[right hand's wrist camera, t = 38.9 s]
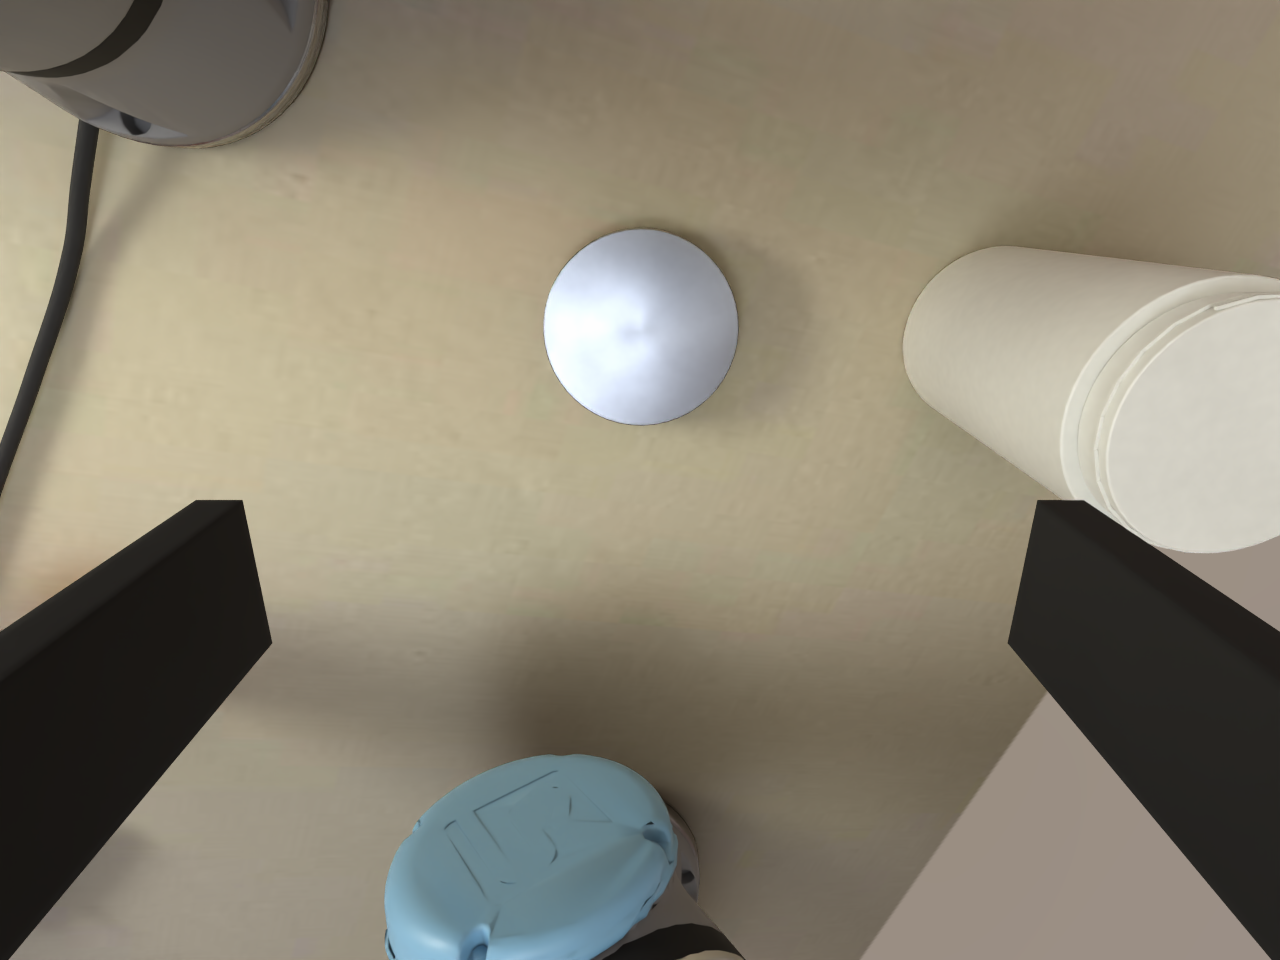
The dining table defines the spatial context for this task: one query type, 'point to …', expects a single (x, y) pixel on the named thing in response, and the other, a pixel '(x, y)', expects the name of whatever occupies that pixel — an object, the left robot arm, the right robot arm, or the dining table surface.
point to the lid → (640, 326)
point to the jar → (1114, 385)
